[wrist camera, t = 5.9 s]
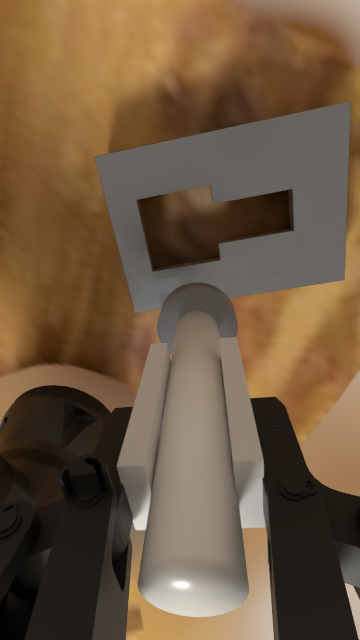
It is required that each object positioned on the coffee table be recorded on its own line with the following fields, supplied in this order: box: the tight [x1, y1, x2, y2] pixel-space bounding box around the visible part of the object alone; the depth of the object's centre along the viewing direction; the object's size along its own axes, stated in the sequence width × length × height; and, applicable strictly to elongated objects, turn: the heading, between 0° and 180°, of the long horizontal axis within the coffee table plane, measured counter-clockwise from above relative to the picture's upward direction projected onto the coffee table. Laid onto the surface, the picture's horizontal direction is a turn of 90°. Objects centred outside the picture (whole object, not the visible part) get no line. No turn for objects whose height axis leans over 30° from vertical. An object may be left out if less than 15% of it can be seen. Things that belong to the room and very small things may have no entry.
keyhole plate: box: [94, 101, 351, 313], centre depth 29 cm, size 20×14×4 cm
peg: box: [138, 282, 249, 617], centre depth 13 cm, size 5×5×14 cm
